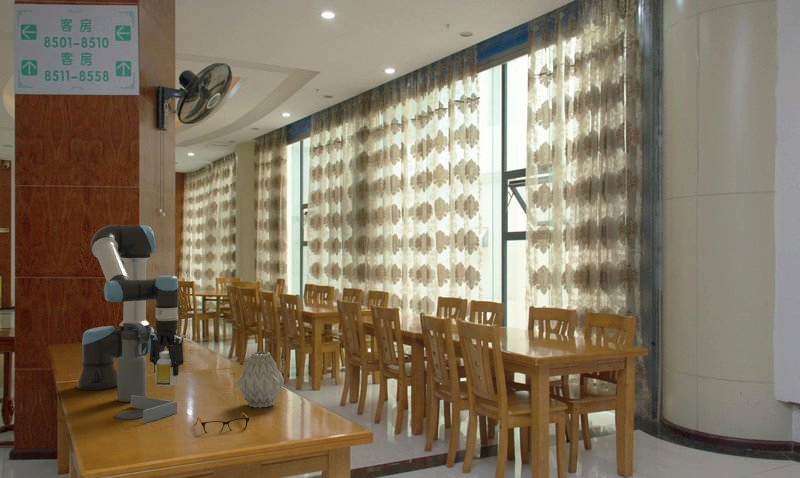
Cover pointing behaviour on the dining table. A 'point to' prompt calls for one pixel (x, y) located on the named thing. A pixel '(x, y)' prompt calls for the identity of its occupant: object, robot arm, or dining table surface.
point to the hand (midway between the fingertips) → (166, 383)
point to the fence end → (159, 412)
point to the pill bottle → (163, 369)
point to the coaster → (130, 414)
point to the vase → (260, 380)
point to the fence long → (147, 402)
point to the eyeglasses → (224, 422)
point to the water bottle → (132, 362)
